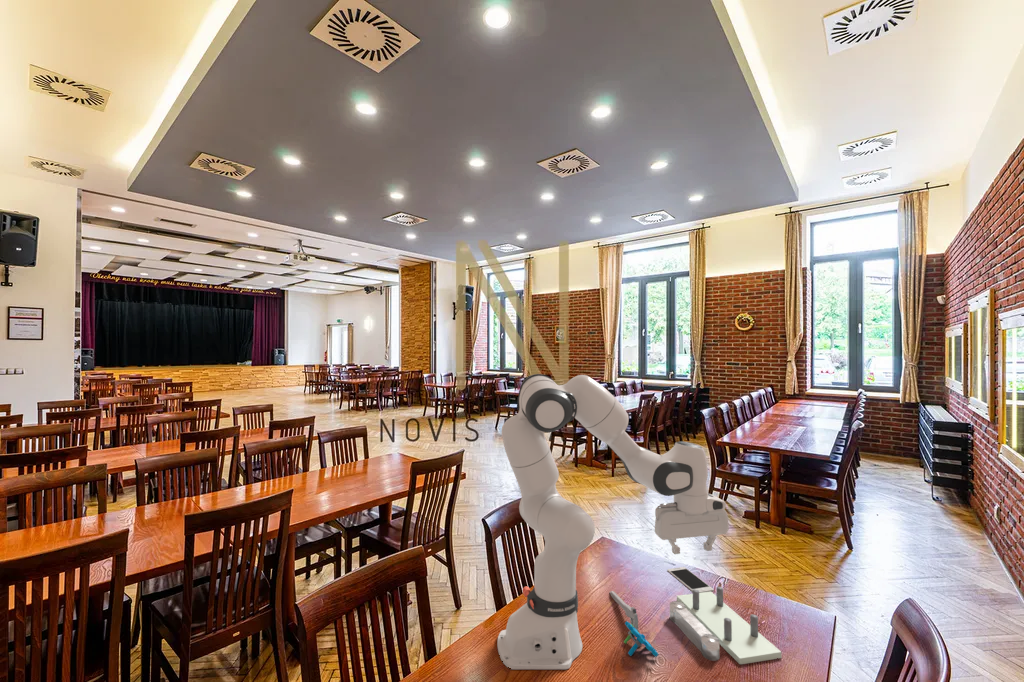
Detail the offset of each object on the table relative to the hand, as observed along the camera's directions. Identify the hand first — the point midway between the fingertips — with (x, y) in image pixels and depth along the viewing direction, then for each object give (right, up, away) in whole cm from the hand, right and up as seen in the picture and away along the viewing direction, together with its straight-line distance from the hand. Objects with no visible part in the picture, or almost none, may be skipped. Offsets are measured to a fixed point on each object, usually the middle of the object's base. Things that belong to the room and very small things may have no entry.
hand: (692, 551), depth 119 cm
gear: (-16, -23, -7) cm, 29 cm away
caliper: (-16, -24, +11) cm, 31 cm away
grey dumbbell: (0, -23, 0) cm, 23 cm away
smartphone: (+11, -24, +28) cm, 39 cm away
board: (+10, -23, +4) cm, 25 cm away
